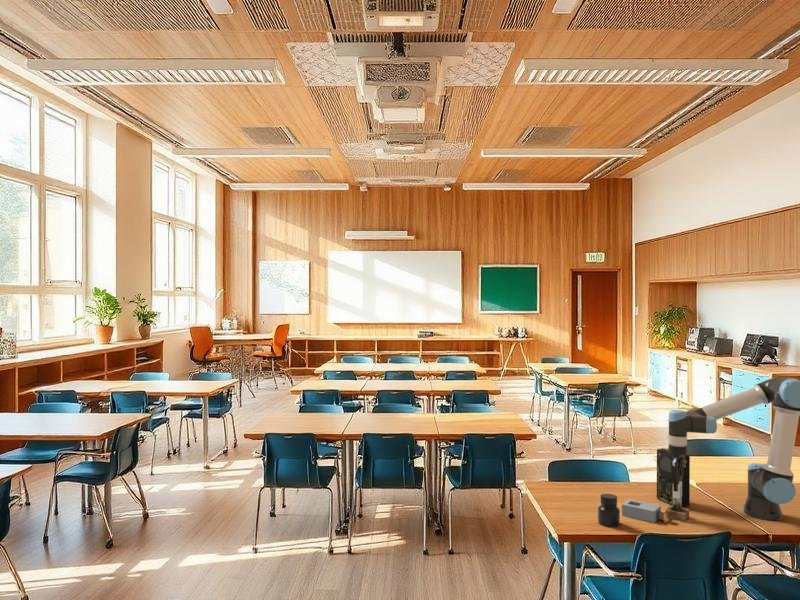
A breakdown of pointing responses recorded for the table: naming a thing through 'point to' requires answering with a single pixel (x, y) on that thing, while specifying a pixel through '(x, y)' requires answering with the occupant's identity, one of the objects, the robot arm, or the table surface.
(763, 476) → the robot arm
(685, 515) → the rack
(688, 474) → the black hard drive
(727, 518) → the table surface
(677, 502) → the drill peg
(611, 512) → the ink bottle
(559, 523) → the table surface
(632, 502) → the socket block
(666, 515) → the drift key
